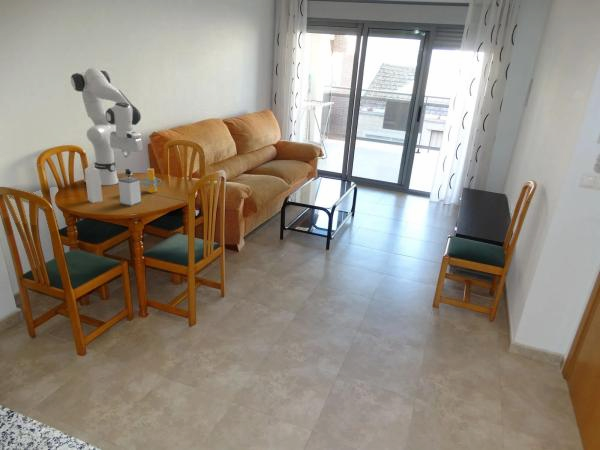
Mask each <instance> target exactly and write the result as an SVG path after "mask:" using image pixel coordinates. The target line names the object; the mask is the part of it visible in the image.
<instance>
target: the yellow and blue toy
mask: <svg viewBox="0 0 600 450" xmlns="http://www.w3.org/2000/svg"><path fill="white" fill-rule="evenodd" d="M146 170H147V178H143V179H142V180H140V184H142V186H146V192H147V193H148V194H149V193H150V194H151V193H152V194H154V193H157V192H158V188H157V187H158V186H159V185H161V184H162V180H161V179H160V178H157V177H156V176H155V168H152V167H151V168H149V167H148V168H147V169H146ZM144 181H145V182H146V183H143V182H144ZM158 181H159V183H157V182H158Z"/></svg>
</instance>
